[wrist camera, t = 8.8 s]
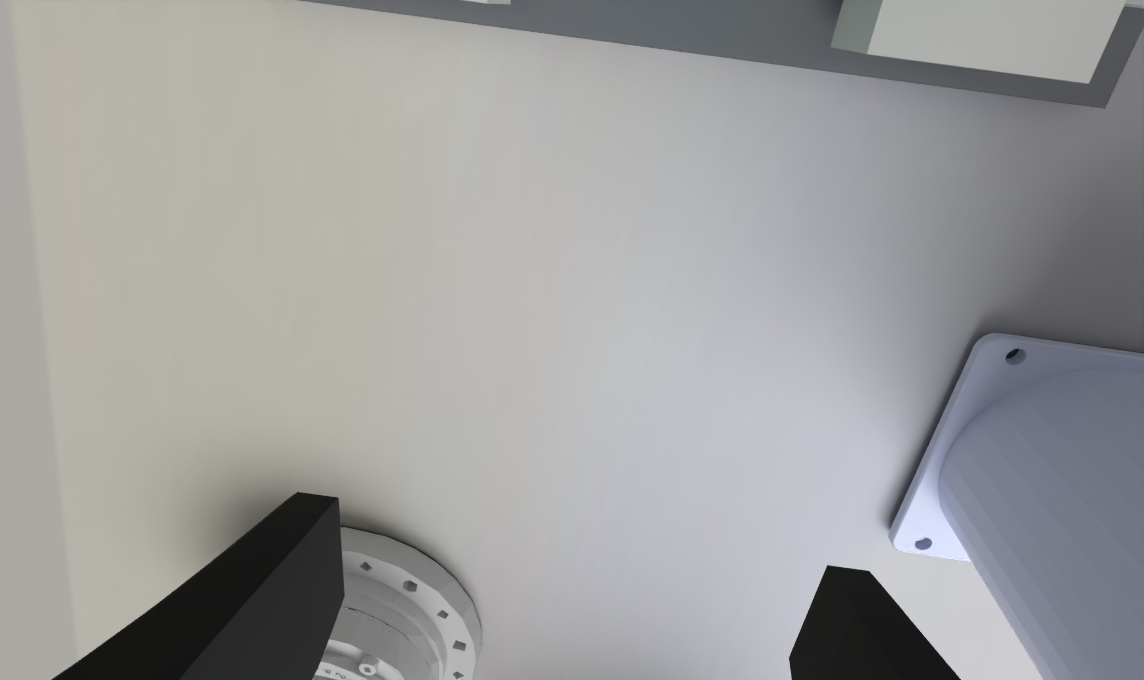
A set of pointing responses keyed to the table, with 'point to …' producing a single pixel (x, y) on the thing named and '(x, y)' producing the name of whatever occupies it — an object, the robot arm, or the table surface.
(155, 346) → the table surface
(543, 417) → the table surface
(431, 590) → the mechanical component
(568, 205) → the table surface
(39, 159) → the table surface
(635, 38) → the rail board
